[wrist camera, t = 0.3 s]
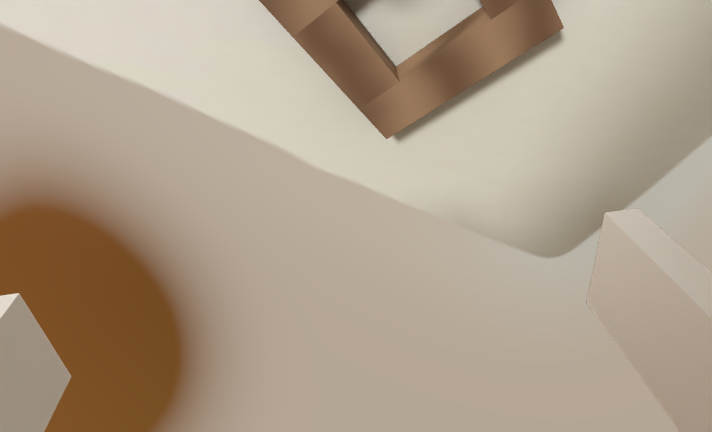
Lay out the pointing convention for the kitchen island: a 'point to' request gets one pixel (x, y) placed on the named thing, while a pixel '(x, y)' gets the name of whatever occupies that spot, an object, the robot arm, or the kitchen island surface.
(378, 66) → the holder block
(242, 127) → the kitchen island surface
